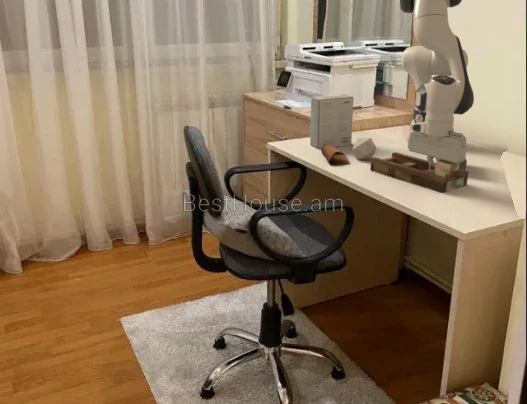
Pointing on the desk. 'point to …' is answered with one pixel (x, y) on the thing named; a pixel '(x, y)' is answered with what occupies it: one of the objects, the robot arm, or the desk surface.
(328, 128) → the hard drive box
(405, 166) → the track
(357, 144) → the die
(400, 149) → the desk surface
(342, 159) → the sunglasses case
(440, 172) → the maple cube
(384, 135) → the desk surface
